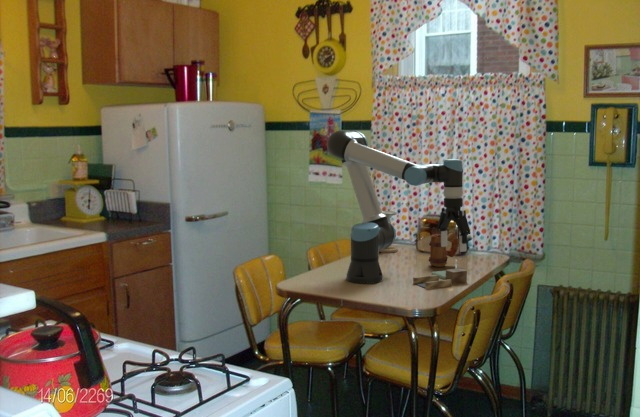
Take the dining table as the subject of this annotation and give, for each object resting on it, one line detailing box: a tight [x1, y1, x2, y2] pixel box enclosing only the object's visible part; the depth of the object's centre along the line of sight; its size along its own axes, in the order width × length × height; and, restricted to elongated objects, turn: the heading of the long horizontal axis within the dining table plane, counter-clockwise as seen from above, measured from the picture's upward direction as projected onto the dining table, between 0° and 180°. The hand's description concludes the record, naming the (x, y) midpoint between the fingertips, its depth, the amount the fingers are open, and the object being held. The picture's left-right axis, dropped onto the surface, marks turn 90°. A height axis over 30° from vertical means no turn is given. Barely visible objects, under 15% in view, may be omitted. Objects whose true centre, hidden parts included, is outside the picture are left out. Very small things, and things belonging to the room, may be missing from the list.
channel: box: [412, 274, 452, 290], centre depth 264 cm, size 12×10×2 cm
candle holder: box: [379, 210, 399, 254], centre depth 334 cm, size 12×12×20 cm
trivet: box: [431, 269, 447, 280], centre depth 279 cm, size 10×10×1 cm
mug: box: [428, 232, 460, 268], centre depth 299 cm, size 15×8×15 cm, turn 105°
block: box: [444, 267, 468, 285], centre depth 269 cm, size 7×5×5 cm
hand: (453, 248), depth 265 cm, fingers open, 13 cm apart
